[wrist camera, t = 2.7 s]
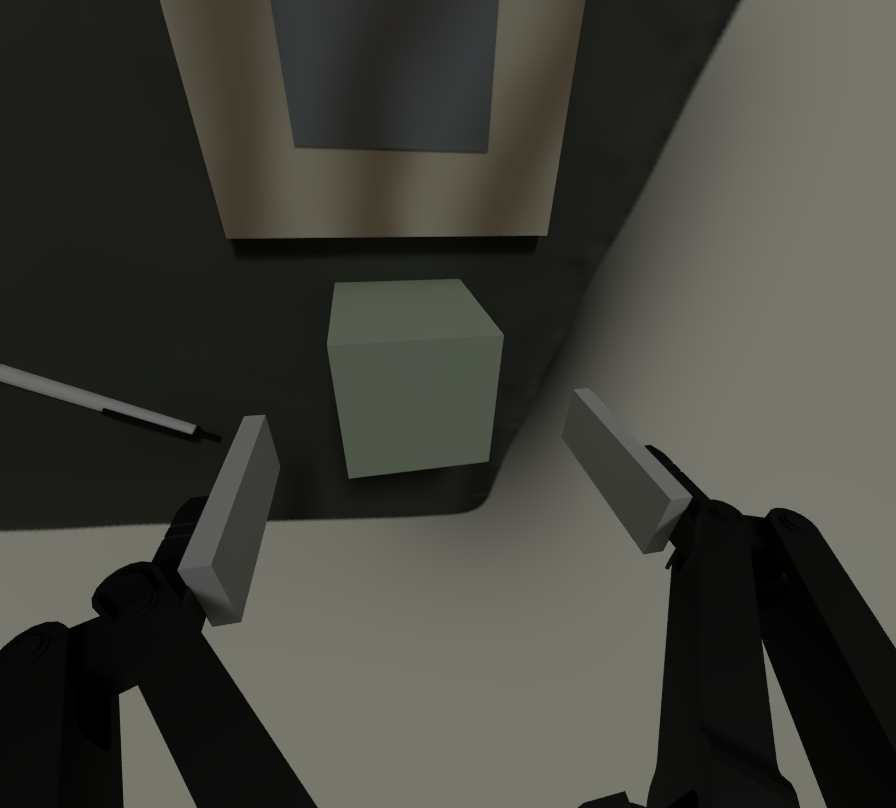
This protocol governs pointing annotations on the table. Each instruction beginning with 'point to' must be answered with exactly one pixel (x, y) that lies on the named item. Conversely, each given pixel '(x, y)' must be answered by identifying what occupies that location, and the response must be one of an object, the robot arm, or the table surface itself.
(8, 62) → the table surface
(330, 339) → the sage block
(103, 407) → the pen
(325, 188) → the beige flat square slab
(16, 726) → the robot arm
